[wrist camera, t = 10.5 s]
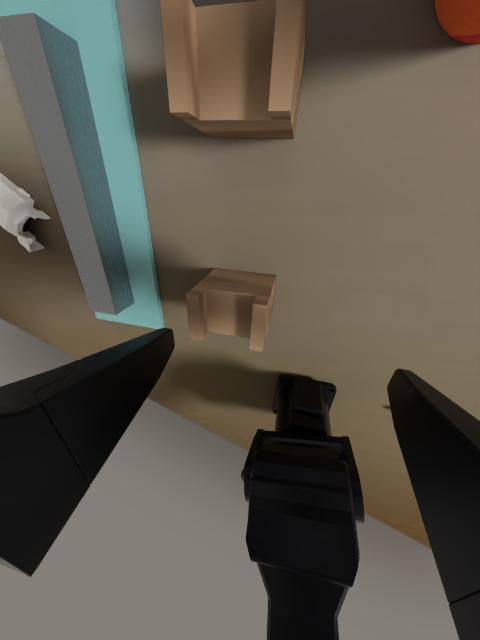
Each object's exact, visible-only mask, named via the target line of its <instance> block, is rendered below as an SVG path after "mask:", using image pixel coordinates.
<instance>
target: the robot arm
mask: <svg viewBox="0 0 480 640" xmlns="http://www.w3.org/2000/svg"><path fill="white" fill-rule="evenodd" d="M174 347H175V343H174V335H173V330H172V329H169V328H161V329H158V330H155V331H153V332H150V333H147V334H145V335H142V336H140V337H137V338H134V339H132V340H129V341H127V342H124V343H121V344H119V345H116V346H113V347H111V348H108V349H106V350H103V351H100V352H98V353H95V354H92V355H90V356H87V357H85V358H82V359H81V360H77V361H74V362H72V363H69V364H66V365H63V366H61V367H58V368H55V369H52V370H50V371H47V372H44V373H41V374H38V375H35V376H32V377H29V378H26V379H23V380H19V381H17V382H13V383H10V384H7V385H4V386H1V387H0V564H2V565H4V566H6V567H8V568H11V569H13V570H15V571H18V572H20V573H22V574H24V575H27V576H29V577H31V576H32V574H33V573H34V572H35V570H36V569H37V567H38V566H39V565H40V563H41V561H42V560H43V558H44V557H45V555H46V553H47V552H48V550H49V549H50V547H51V546H52V544H53V543H54V541H55V539H56V538H57V536H58V535H59V533H60V532H61V530H62V529H63V527H64V526H65V524H66V523H67V521H68V519H69V518H70V516H71V515H72V513H73V512H74V510H75V508H76V507H77V505H78V504H79V502H80V501H81V499H82V498H83V496H84V495H85V493H86V492H87V490H88V488H89V487H90V484H91V483H92V482H93V480H94V479H95V477H96V475H97V474H98V473H99V471H100V470H101V468H102V466H103V465H104V463H105V462H106V460H107V459H108V457H109V456H110V454H111V452H112V451H113V449H114V448H115V446H116V445H117V443H118V441H119V440H120V438H121V437H122V435H123V434H124V432H125V431H126V429H127V428H128V426H129V424H130V423H131V421H132V420H133V418H134V417H135V415H136V414H137V412H138V411H139V409H140V407H141V406H142V404H143V402H144V401H145V400H146V398H147V397H148V395H149V393H150V392H151V390H152V389H153V387H154V386H155V384H156V383H157V381H158V379H159V378H160V376H161V374H162V372H163V370H164V368H165V366H166V364H167V362H168V360H169V358H170V356H171V354H172V352H173V350H174ZM282 379H284V380H282ZM387 391H388V396H389V402H390V407H391V413H392V418H393V423H394V428H395V432H396V435H397V439H398V442H399V445H400V448H401V451H402V455H403V458H404V461H405V464H406V468H407V471H408V474H409V477H410V481H411V484H412V487H413V490H414V493H415V497H416V500H417V503H418V506H419V510H420V513H421V516H422V519H423V523H424V526H425V529H426V532H427V535H428V539H429V542H430V545H431V548H432V551H433V555H434V558H435V561H436V565H437V568H438V571H439V574H440V577H441V581H442V584H443V587H444V590H445V594H446V597H447V600H448V602H449V603H450V604H449V607H450V611H451V614H452V617H453V620H454V624H455V627H456V630H457V633H458V636H459V640H480V421H479V420H478V419H476V418H475V417H473V416H472V415H471V414H469V413H468V412H467V411H465V410H464V409H462V408H461V407H460V406H458V405H457V404H456V403H454V402H453V401H451V400H450V399H449V398H447V397H446V396H445V395H443V394H442V393H441V392H439V391H438V390H436V389H435V388H434V387H432V386H431V385H430V384H428V383H427V382H425V381H424V380H423V379H421V378H420V377H419V376H417V375H416V374H414V373H413V372H412V371H410V370H404V369H397V370H395V372H394V374H393V376H392V378H391V380H390V381H389V383H388V387H387ZM335 394H336V386H334V385H332V384H327V383H321V382H316V381H311V380H306V379H301V378H296V377H291V376H285V375H280V376H279V377H278V382H277V388H276V393H275V399H274V405H273V413H275V414H276V423H275V431H265V430H263V429H258V430H257V432H256V435H255V436H254V439H253V442H252V445H251V447H250V450H249V453H248V456H247V459H246V462H245V465H244V469H243V470H242V473H241V479H242V480H243V482H244V493H245V499H246V501H247V502H249V513H248V525H247V533H246V543H247V547H248V552H249V556H250V559H251V561H253V562H257V564H258V567H259V570H260V573H261V576H262V579H263V583H264V586H265V589H266V591H267V595H268V622H267V623H268V624H267V640H339V633H338V621H337V618H338V615H339V612H340V609H341V606H342V604H343V601H344V599H345V596H346V593H347V591H348V589H349V587H352V585H353V583H354V580H355V576H356V573H357V570H358V562H359V547H358V539H357V530H356V522H357V523H364V505H363V497H362V490H361V484H360V479H359V474H358V470H357V466H356V462H355V459H354V455H353V451H352V447H351V444H350V440H349V437H348V436H342V437H335V436H331V428H330V419H329V410H330V407H331V405H332V402H333V399H334V397H335Z"/></svg>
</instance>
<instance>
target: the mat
mask: <svg viewBox="0 0 480 640" xmlns="http://www.w3.org/2000/svg"><path fill="white" fill-rule="evenodd" d="M26 13H35V14H36V15H38V16H39V17H41V18H42V19H44V20H45V21H47V22H48V23H50V24H52V25H53V26H55V27H56V28H58V29H59V30H61V31H62V32H64V33H65V34H67V35H68V36H70V37H71V38H73V39H74V40H76V41H77V42H78V47H79V51H80V56H81V60H82V65H83V70H84V74H85V79H86V83H87V88H88V92H89V97H90V102H91V106H92V111H93V115H94V120H95V124H96V129H97V134H98V138H99V143H100V147H101V152H102V156H103V161H104V166H105V170H106V175H107V179H108V184H109V188H110V193H111V198H112V202H113V207H114V211H115V216H116V220H117V225H118V230H119V234H120V239H121V243H122V248H123V252H124V257H125V262H126V266H127V271H128V275H129V280H130V284H131V289H132V293H133V298H134V304H132V305H131V306H129V307H128V308H126V309H125V310H123V311H122V312H120V313H119V314H117V315H112V314H106V313H100V312H95V314H96V317H97V318H98V319H104V320H110V321H115V322H121V323H127V324H132V325H138V326H144V327H150V328H155V329H161V328H164V320H163V313H162V307H161V300H160V294H159V287H158V281H157V274H156V268H155V261H154V254H153V248H152V241H151V235H150V228H149V222H148V215H147V209H146V202H145V195H144V189H143V182H142V176H141V169H140V163H139V156H138V150H137V143H136V137H135V130H134V123H133V117H132V110H131V104H130V97H129V91H128V84H127V78H126V71H125V64H124V58H123V51H122V45H121V38H120V32H119V25H118V19H117V12H116V5H115V0H0V16H9V15H17V14H26Z"/></svg>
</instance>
